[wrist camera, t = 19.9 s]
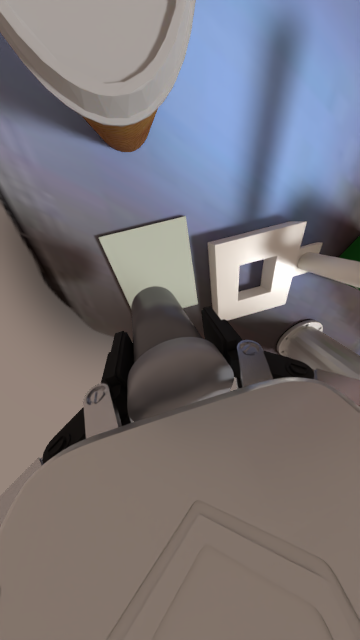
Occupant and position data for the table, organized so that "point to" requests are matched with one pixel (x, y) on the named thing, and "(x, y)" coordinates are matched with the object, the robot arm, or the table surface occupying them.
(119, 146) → the disposable coffee cup
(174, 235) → the rubber mat
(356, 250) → the milk carton
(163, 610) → the robot arm
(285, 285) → the socket base
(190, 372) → the plug
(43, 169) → the table surface
